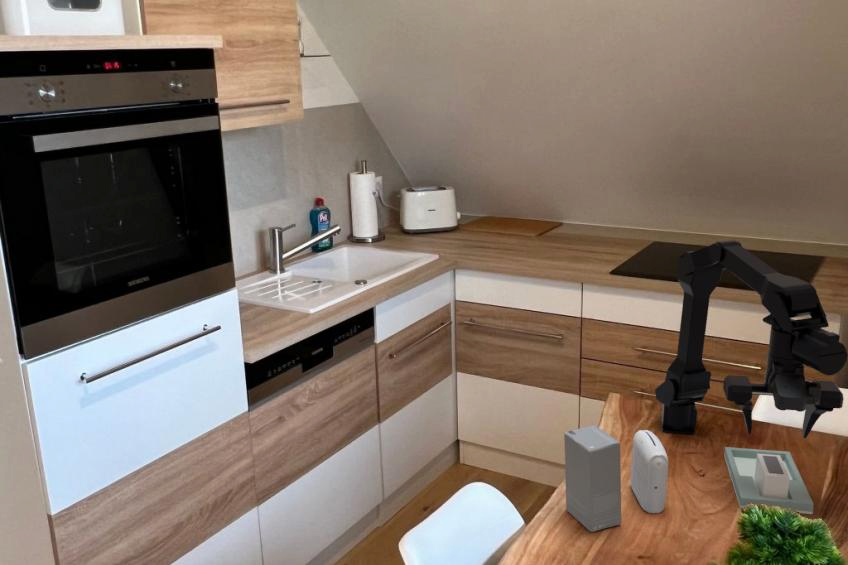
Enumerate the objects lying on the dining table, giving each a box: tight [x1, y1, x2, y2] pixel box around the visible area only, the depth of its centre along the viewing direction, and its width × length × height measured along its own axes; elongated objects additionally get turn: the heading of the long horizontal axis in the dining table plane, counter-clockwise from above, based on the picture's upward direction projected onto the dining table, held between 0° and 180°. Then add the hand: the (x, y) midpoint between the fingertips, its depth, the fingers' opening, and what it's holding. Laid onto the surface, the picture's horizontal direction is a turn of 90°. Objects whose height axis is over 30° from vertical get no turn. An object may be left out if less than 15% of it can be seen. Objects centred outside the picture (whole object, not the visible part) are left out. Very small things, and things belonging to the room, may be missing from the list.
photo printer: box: [629, 429, 669, 514], centre depth 147 cm, size 10×4×12 cm, turn 2°
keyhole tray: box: [723, 446, 815, 515], centre depth 153 cm, size 12×19×2 cm, turn 169°
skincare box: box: [563, 424, 622, 533], centre depth 141 cm, size 8×7×16 cm
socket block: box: [754, 454, 790, 499], centre depth 148 cm, size 4×8×6 cm, turn 169°
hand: (776, 435), depth 146 cm, fingers open, 9 cm apart
